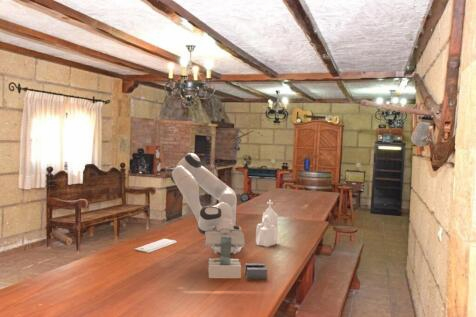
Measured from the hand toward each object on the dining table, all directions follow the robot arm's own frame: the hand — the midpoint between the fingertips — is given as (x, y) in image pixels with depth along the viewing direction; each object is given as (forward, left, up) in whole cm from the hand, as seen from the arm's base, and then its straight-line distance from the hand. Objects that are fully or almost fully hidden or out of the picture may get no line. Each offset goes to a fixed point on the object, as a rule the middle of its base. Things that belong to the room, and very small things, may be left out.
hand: (225, 253), depth 208 cm
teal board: (0, 0, -12) cm, 12 cm away
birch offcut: (-6, 0, -12) cm, 13 cm away
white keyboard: (-36, -60, -13) cm, 71 cm away
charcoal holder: (-7, +14, -13) cm, 20 cm away
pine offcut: (-4, -5, -12) cm, 13 cm away
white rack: (-3, -1, -13) cm, 13 cm away
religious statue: (-75, +2, -13) cm, 76 cm away
